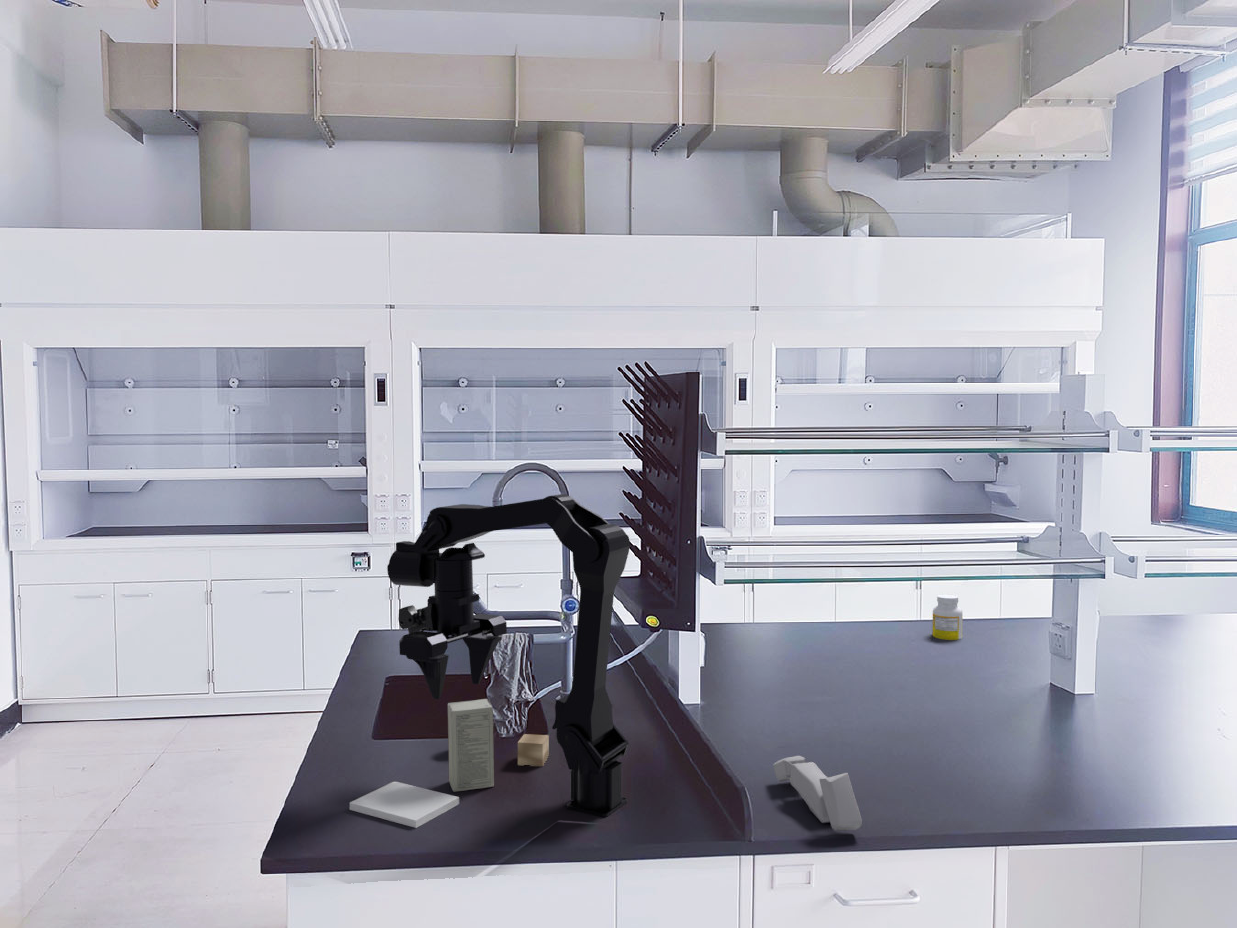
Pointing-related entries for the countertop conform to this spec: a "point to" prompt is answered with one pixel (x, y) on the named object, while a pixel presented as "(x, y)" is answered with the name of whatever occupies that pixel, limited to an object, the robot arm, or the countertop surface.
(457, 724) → the skincare box
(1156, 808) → the countertop surface
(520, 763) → the oak block
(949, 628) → the supplement bottle
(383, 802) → the grey mat
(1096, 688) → the countertop surface
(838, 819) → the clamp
